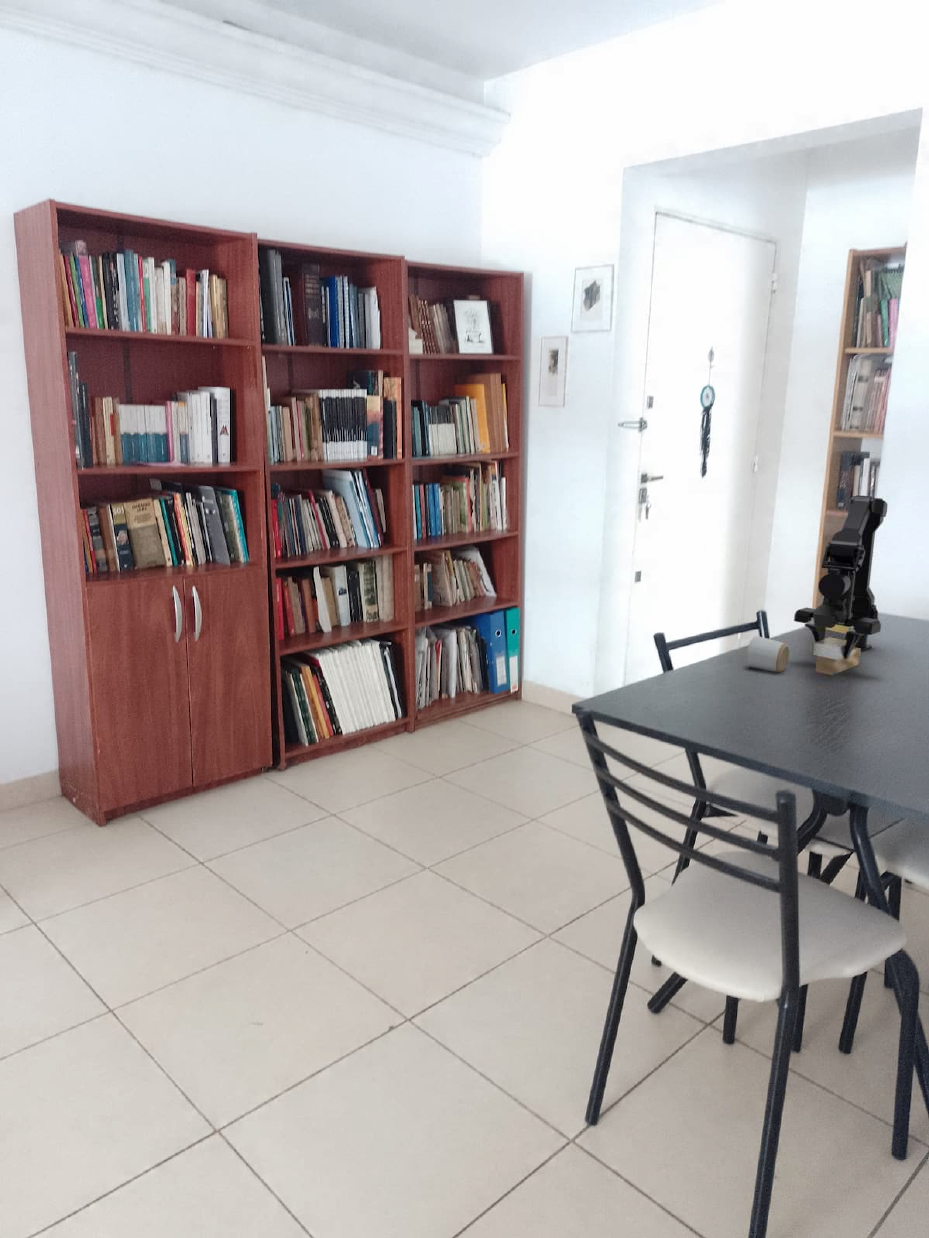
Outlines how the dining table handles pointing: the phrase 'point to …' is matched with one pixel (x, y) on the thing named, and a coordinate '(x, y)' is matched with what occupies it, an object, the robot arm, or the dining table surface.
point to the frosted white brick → (830, 648)
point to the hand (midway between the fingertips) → (832, 655)
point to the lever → (840, 629)
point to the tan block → (837, 663)
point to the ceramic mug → (767, 654)
